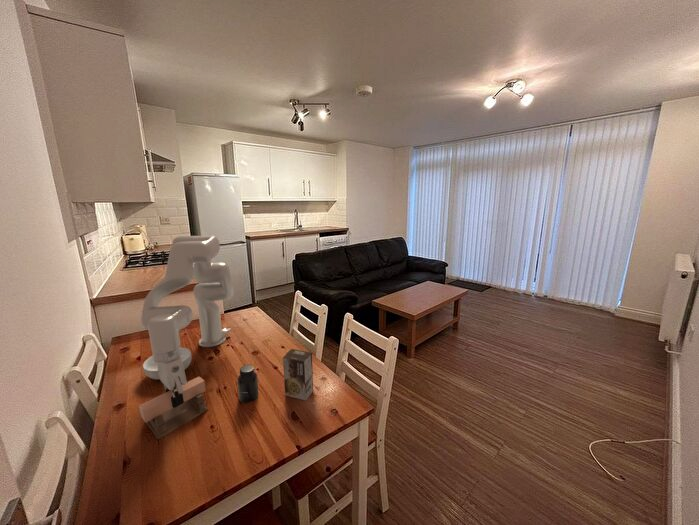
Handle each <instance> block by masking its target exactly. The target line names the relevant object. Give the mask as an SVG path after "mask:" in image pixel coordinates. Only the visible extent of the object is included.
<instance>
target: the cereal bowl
mask: <svg viewBox="0 0 699 525" xmlns="http://www.w3.org/2000/svg"><path fill="white" fill-rule="evenodd" d="M181 352H182V354H181V356H180V357H181V360H182V363H183V366H184V371H185V370H186V369H188V367H189V366H190V365H191V362H192V352H191V350H190V349H189V348H187V347H181ZM142 370H143V372H144V374H145V375H146V376H147V377H148V378H150V379H152V380H160V378H159V373H158V367H157V363H155V362H154V359H153V355H151V356H150V357H148V358H147V359H146V360H145V361H144V362H143V363H142Z"/></svg>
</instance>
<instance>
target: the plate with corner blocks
mask: <svg viewBox="0 0 699 525" xmlns="http://www.w3.org/2000/svg"><path fill="white" fill-rule="evenodd" d="M207 411H209V409H208V407H207V406H206V402H205V398H204V394H203V392H202V393H200V394H198V395H197V396H195V397H193V398H191V399H189V400H187V401H185V402H184V403H183V404H181V405H179V406H177V407H175V408H172V409H170V410H168V411H167V412H165V413H163V414H161V415H159V416H157V417H155V418H153V419H152V420H150V421H148V422H146V425H147V426H148V428H149V429H150V431H151V432H152V433H153V435H154V436H155V437H156V439H157V440H160V439H162V438H163V437H165V436H166V435H168V434H170V433H172V432H173V431H175V430H176V429H179V428H180V427H182V426H183V425H186V423H187V424H188V423H189V422H190V421H192V420H193V419H195V418H197V417H198V416H200V415H202V414H204V413H206V412H207Z"/></svg>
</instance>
